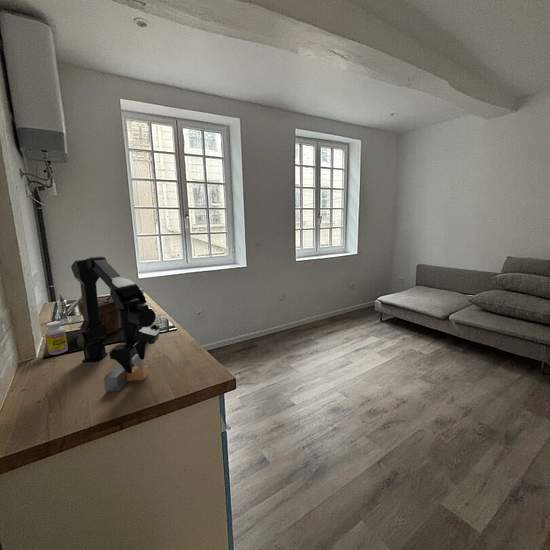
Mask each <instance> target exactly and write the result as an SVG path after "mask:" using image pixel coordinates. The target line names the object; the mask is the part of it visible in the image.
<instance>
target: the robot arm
mask: <svg viewBox="0 0 550 550" xmlns="http://www.w3.org/2000/svg"><path fill="white" fill-rule="evenodd" d="M71 271H72V273H73V277H74V278H75V279H76V281H78V282H79V285H80V290H81V291H80V293H81V299H82V302H83V311H84V319H83V321H82V323H81V325H80V326H79V327H80V328H79V331H80V332H79V334H78V337H77V339H76V343H77V346H78V347H80V348H82V351H83V356H84V359H82V360H81V361H82V363H87V362H99V361H101V360H102V359H103V358H105V357H106V356H107V355H109V359H110V360H114V361H116V362H117V363H118V364H119V363H120V364H121V366H122V367H123V368H124V369H125V370H126V371H127V372H128V373H132V357H133V356H134V355H135V354H138V355H139V357H140V360H141V361H142V360H145V356H146V351H147V346H148V344H149V345H154V344H155V343H156V342H157V341H158V339H159V336H160V334H161V333H162V332H161V329H160V325H159V324H158V323H155V321H156V319H157V315H156V313H155V311H154V310H153V309H151V308H149V305H148V303H147V300H146V296H145V294H144V295H143V293H142V292H141V290H140V289H139V288H140V287H139V286H138V284H136V283H135V282H134V281H132V280H131V279H128V278H124V277H123V276H122V275H120V273H119V272H118V271H116V270H115V268H114V267H113V266H112V265H111V264H110V263H109V262H108V261H107V259H106V257H105V256H102V255H100V256H97V255H96V256H90V257H89V258H86V259H78V260H74V262H73V263H72V264H71ZM99 279H100V280H102V281H103V282H104V284H106V286H107V287H108V288H109V289H110V292H109V295H110V296H111V298H112V299H113V301H114V302H115V303H116V304H117V305H116V306H115V308H118V311H119V318H120V327H119V328H118V330H117V331H118V332H120V331H121V339H120V340H119V343H120V344H117V345H115V346H114V347H113V348H112V349H111V350H110V351H109V352H107V351H106V346H105V344H104V342H106V341H108V340H107V339H108V334H107V329H106V325H105V324H104V323H103V322H102V321H101V320H100V319H99V309H98V299H99V298H98V292H97V290H98V289H97V282H98V281H99ZM97 298H98V299H97ZM136 299H139V300H136ZM133 300H135V301H133ZM129 301H131V302H129ZM144 304H145V305H144ZM149 326H151V327H149ZM122 343H123V344H122Z"/></svg>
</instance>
